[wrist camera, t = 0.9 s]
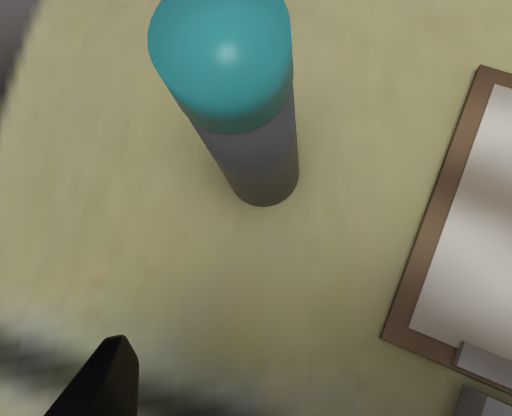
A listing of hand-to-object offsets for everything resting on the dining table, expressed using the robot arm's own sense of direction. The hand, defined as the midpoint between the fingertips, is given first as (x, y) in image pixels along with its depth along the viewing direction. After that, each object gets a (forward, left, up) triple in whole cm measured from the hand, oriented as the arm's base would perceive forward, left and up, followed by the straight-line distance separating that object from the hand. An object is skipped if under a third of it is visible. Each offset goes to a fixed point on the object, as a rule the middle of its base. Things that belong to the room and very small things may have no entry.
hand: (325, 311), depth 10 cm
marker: (+6, +5, -14) cm, 17 cm away
